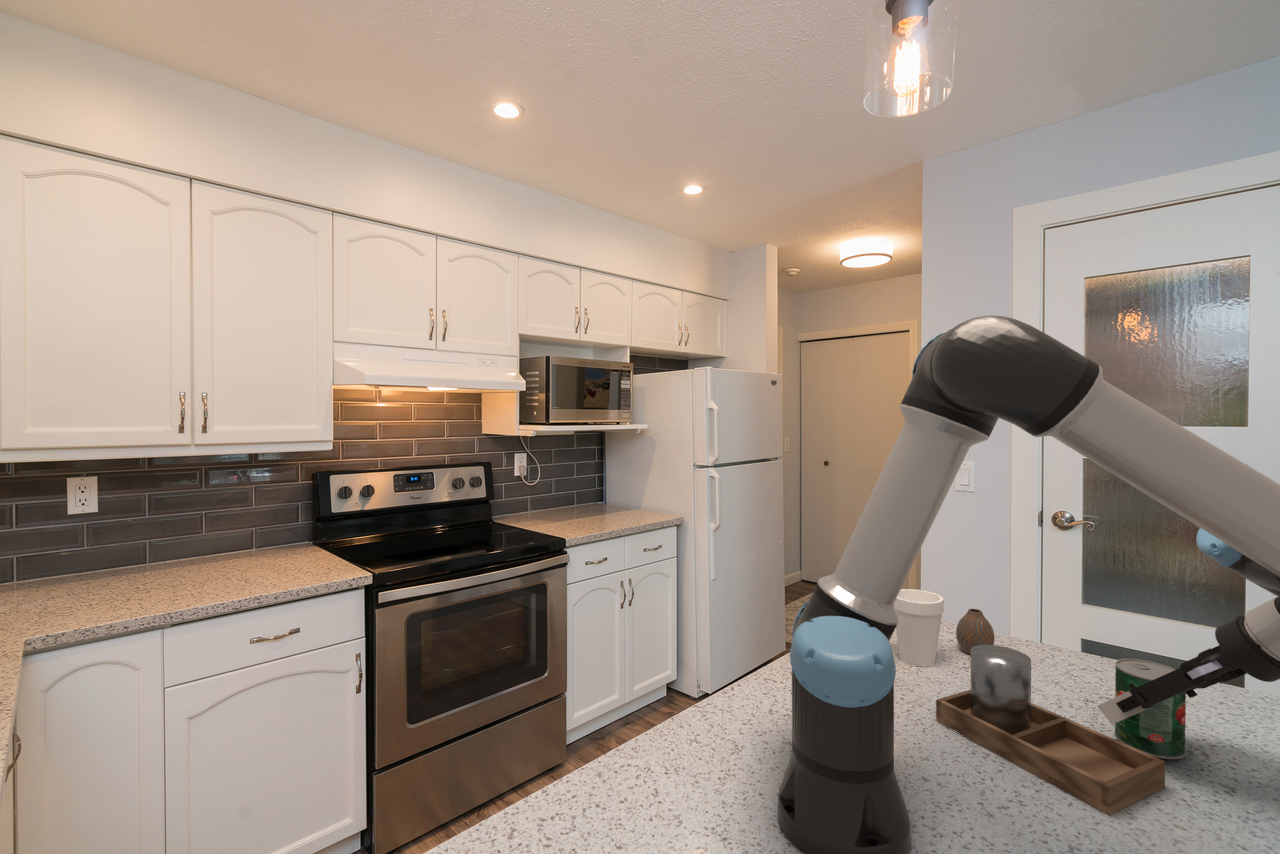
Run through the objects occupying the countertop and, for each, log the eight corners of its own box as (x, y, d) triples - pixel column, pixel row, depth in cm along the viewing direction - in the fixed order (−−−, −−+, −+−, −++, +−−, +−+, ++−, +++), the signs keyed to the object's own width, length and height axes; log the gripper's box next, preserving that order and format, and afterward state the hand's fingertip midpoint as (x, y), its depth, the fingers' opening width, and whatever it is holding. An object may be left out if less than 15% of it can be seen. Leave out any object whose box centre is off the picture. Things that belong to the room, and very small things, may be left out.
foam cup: (932, 651, 122) (932, 589, 121) (951, 671, 112) (951, 604, 112) (885, 650, 122) (885, 588, 122) (900, 669, 113) (900, 602, 113)
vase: (964, 643, 126) (964, 602, 126) (999, 653, 121) (999, 610, 120) (950, 651, 121) (950, 609, 121) (986, 662, 116) (986, 618, 116)
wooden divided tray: (1164, 787, 77) (1165, 761, 77) (1108, 815, 72) (1109, 787, 72) (988, 704, 99) (988, 684, 99) (936, 721, 94) (936, 699, 94)
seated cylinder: (1029, 745, 85) (1030, 670, 85) (967, 728, 90) (967, 657, 90) (1031, 721, 92) (1032, 652, 92) (973, 707, 97) (973, 641, 96)
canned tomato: (1201, 759, 82) (1202, 682, 82) (1144, 759, 82) (1145, 682, 82) (1152, 729, 90) (1153, 658, 90) (1100, 729, 90) (1101, 658, 90)
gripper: (1261, 686, 67) (1101, 751, 83) (1337, 655, 76) (1179, 719, 91) (1203, 625, 72) (1061, 697, 87) (1280, 603, 81) (1139, 671, 96)
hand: (1122, 708), depth 89 cm, fingers closed on canned tomato, 8 cm apart
